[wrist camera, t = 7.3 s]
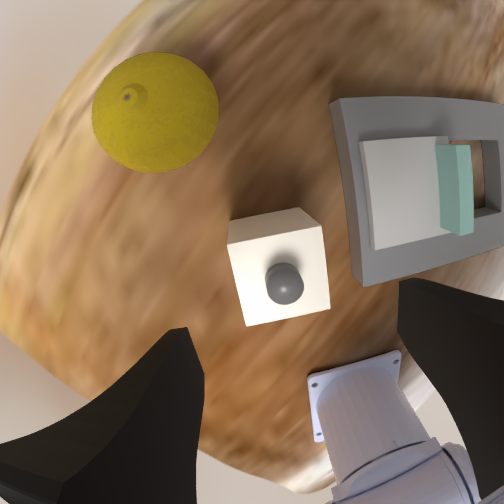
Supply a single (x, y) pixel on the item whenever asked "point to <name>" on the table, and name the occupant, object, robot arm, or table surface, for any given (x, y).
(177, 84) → the lemon
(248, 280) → the plug
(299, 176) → the table surface
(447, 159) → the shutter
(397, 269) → the socket plate
